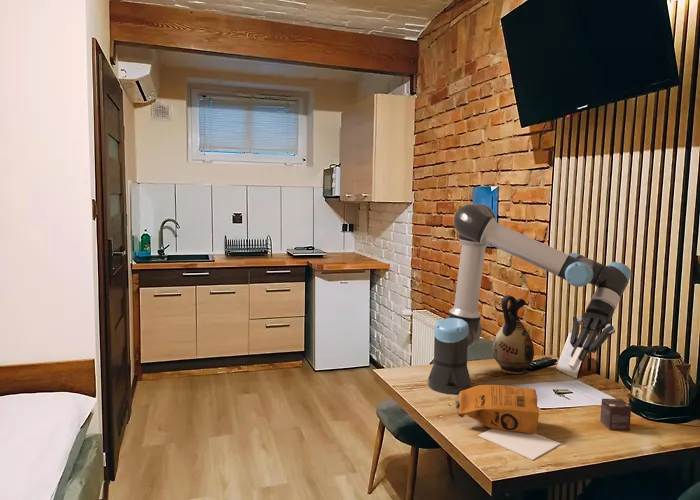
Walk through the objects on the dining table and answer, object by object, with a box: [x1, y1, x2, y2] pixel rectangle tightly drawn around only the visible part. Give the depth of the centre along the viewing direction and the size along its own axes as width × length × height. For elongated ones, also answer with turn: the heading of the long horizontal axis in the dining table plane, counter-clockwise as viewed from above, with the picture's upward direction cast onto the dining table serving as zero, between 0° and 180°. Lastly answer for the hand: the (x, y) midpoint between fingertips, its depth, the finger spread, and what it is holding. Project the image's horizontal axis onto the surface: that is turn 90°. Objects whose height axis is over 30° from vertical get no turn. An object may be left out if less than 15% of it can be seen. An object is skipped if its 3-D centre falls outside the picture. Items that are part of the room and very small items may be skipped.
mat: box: [477, 428, 561, 461], centre depth 142 cm, size 17×14×1 cm
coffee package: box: [457, 384, 540, 434], centre depth 151 cm, size 10×12×22 cm
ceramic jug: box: [492, 295, 535, 375], centre depth 198 cm, size 17×15×30 cm
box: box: [599, 398, 632, 431], centre depth 152 cm, size 6×6×7 cm
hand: (572, 367), depth 155 cm, fingers closed
